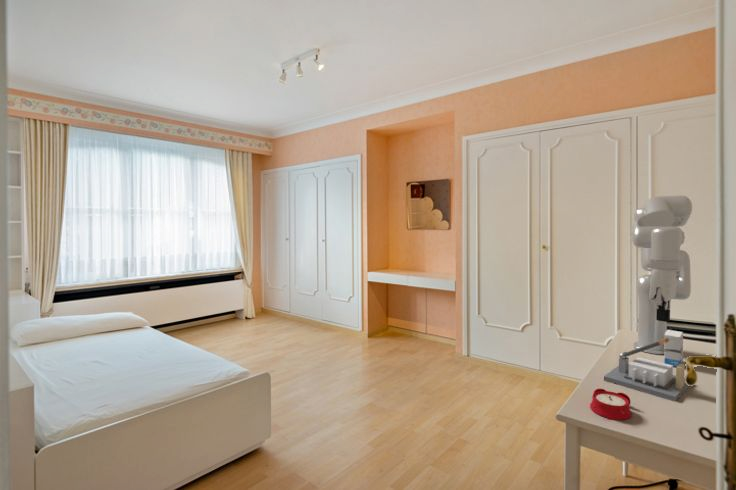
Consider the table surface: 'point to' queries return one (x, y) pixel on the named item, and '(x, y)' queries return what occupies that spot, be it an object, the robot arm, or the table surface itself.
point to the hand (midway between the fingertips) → (663, 320)
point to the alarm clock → (611, 404)
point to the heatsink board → (644, 387)
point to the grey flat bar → (644, 348)
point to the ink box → (674, 348)
